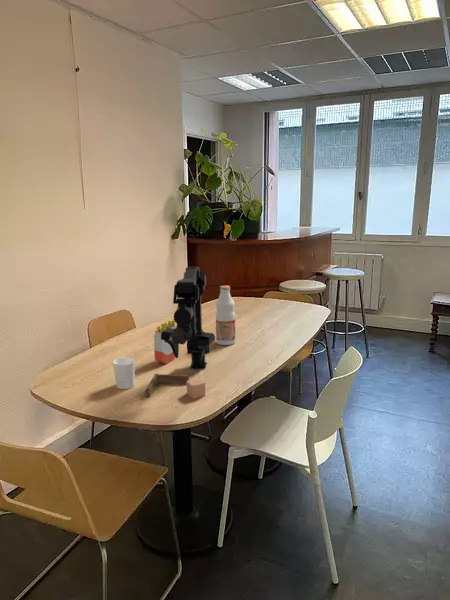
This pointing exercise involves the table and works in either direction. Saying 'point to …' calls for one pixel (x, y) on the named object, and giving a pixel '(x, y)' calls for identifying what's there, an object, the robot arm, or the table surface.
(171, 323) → the french fries container
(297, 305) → the table surface
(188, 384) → the light brown cube
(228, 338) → the fruit juice
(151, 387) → the walnut fence
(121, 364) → the white cup
